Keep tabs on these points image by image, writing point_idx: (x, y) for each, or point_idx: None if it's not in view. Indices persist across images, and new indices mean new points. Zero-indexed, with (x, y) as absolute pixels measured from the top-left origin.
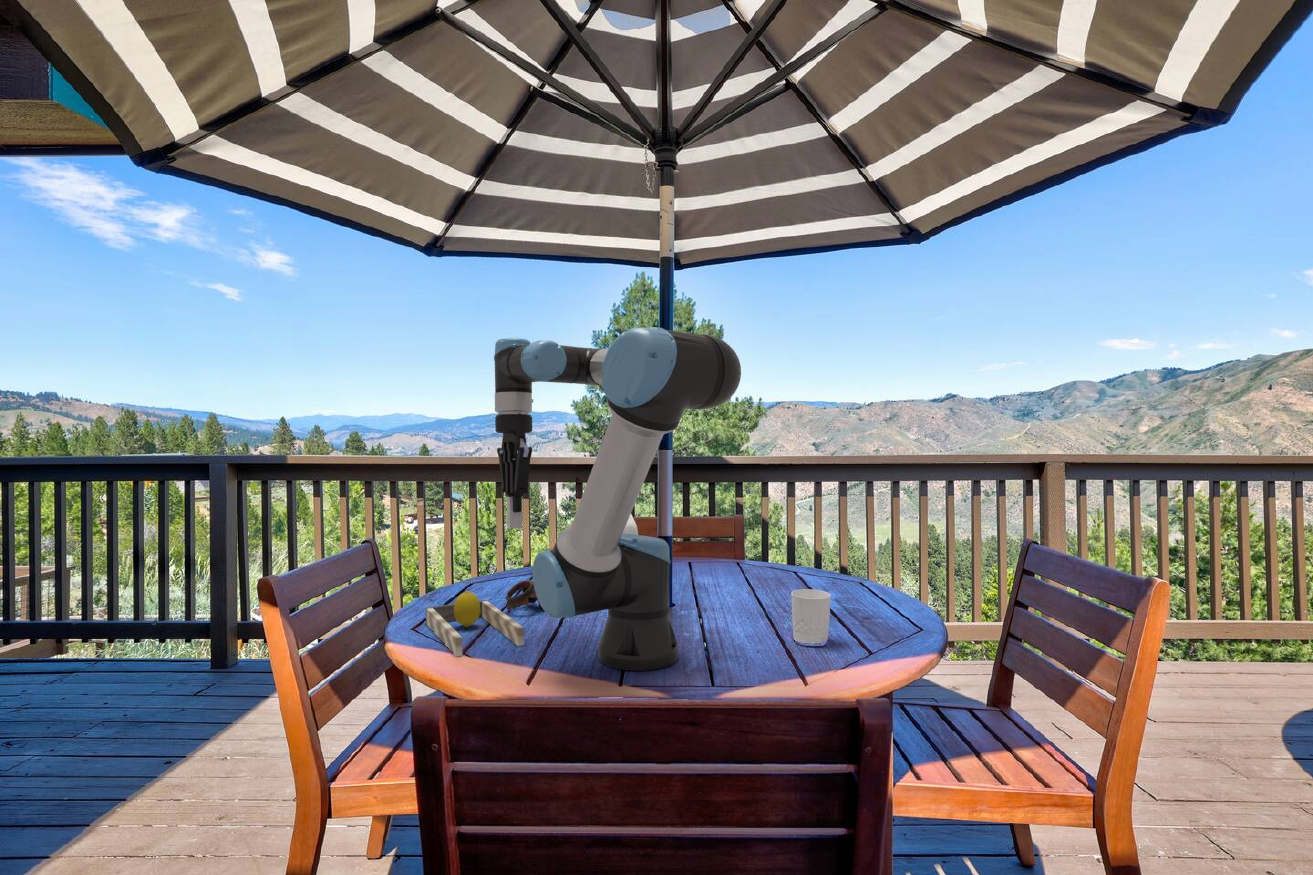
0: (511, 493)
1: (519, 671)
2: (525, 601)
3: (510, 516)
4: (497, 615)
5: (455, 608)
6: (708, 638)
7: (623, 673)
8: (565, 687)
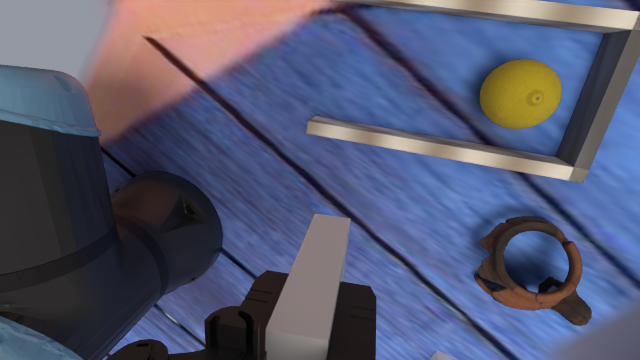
0: (220, 350)
1: (201, 54)
2: (487, 242)
3: (302, 247)
4: (442, 143)
5: (524, 59)
6: (188, 337)
7: (126, 171)
8: (114, 78)
